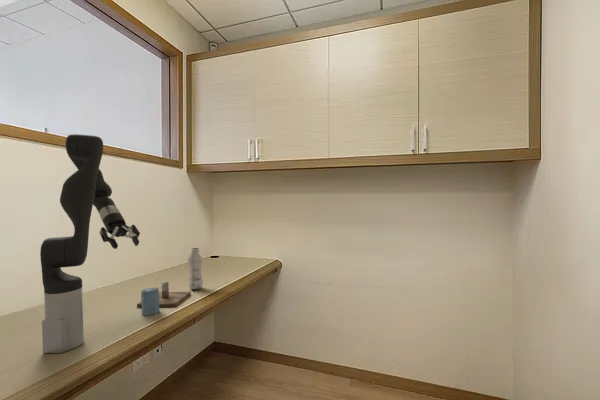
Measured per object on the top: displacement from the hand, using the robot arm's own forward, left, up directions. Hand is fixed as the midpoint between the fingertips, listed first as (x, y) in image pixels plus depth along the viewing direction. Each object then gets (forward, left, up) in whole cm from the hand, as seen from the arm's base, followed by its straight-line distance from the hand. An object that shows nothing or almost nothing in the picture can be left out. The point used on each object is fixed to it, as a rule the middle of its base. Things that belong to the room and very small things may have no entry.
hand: (127, 246), depth 127 cm
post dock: (+8, -12, -25) cm, 29 cm away
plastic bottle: (+25, -19, -26) cm, 40 cm away
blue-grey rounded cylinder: (-6, -13, -25) cm, 29 cm away
